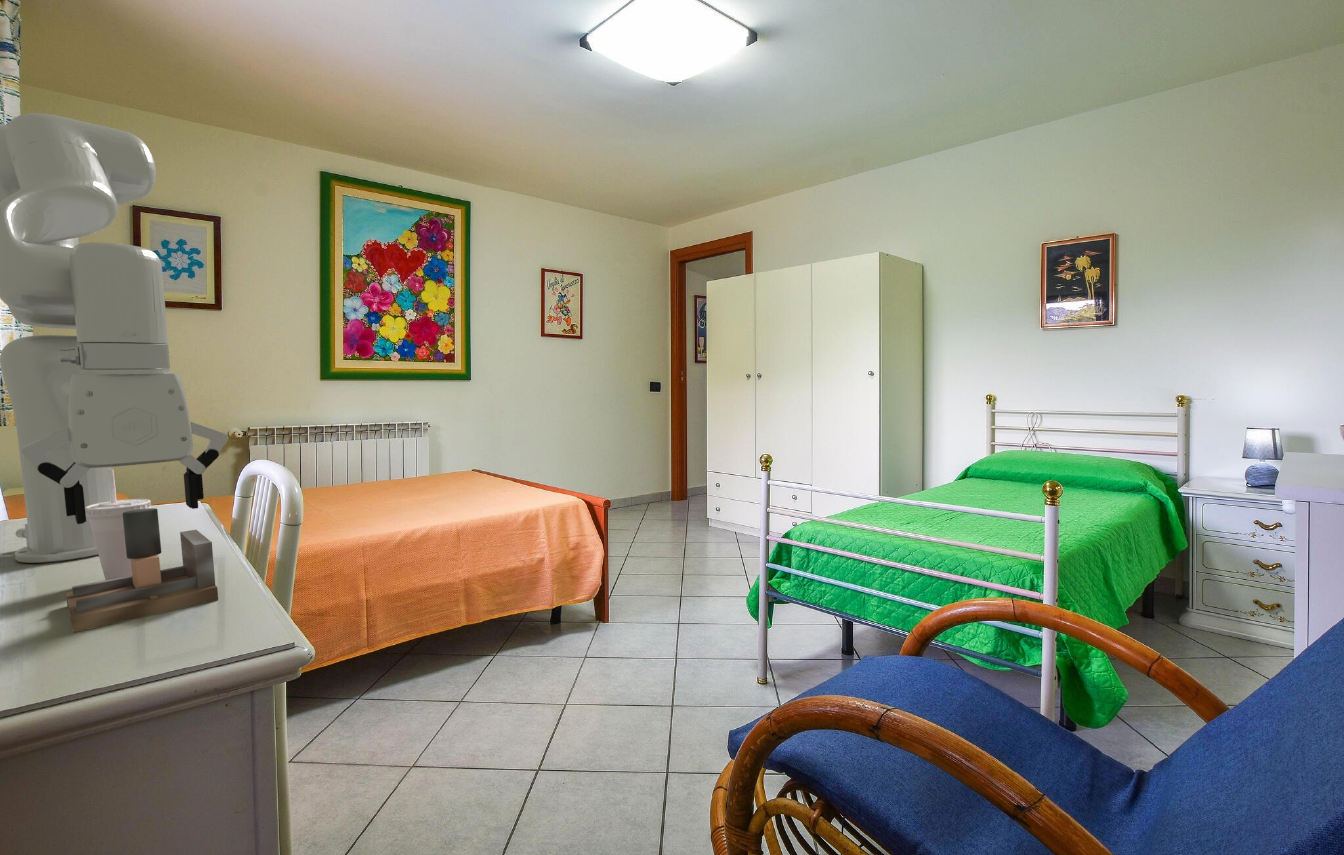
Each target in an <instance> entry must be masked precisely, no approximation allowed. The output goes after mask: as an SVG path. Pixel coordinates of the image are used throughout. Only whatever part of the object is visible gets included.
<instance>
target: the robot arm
mask: <svg viewBox="0 0 1344 855" xmlns="http://www.w3.org/2000/svg"><path fill="white" fill-rule="evenodd" d="M156 177H157V170H156V164H155V160H154V157H153V155H152V152H151V151H150V149H149V147H148V146H147V145H146V143H145V142H144V141H143V140H142V139H141V138H140V137H138V136H137V135H135V134H133V133H132V132H128V131H126V130H122V129H118V128H113V127H109V126H107V125H106V126H105V125H102V124H101V125H100V124H96V123H93V122H88V121H82V120H78V119H74V118H71V117H65V116H62V115H56V114H51V113H50V114H49V113H43V112H42V113H41V112H29V113H23V114H19V115H17V116H16V117H14V118H12V119H11V120H10V121H9V122H8V124H3V123H0V300H1V301H2V302H3V303H4V304H5V305H6V306H8V309H9V312H10V314H11V315H12V317H13V318H14V319H15V320H16V321H18V322H19V323H22V324H23V325H27V326H32V327H37V328H44V329H45V328H46V329H48V328H49V329H65V330H67V329H71V330H75V331H76V335H58V334H57V335H55V334H53V335H52V334H45V335H44V334H43V335H31V336H30V335H27V336H23V337H19V338H16V339H13V340H11V341H10V342H8V343H7V344H6V345H5V346H3V348H2V349H1V351H0V371H1V375H2V378H3V381H4V385H5V387H6V391H7V392H8V397H9V399H10V403H11V407H12V412H13V417H14V422H15V426H16V427H15V428H16V436H17V443H18V450H19V460H20V470H21V478H22V486H23V488H22V489H23V495H24V496H23V498H24V505H25V512H26V514H25V515H26V523H25V524H24V528H21V527H20V528H18V529H17V530H16V531H15V536H16V537H17V538H20V539H21V538H22V539H23V538H24V539H26V540H25V541H26V546H25V547H21V548H19V549H18V550H16V551H15V552H14V556H15V557H14V558H15V561H17V562H19V563H26V564H27V563H28V564H29V563H30V564H31V563H32V564H35V563H36V564H37V563H52V562H63V561H68V560H70V561H71V560H75V559H82V558H88V557H93V556H99V555H98V551H97V547H96V544H95V540H94V536H93V533H92V530H91V525H90V521H89V518H88V517H86V512H85V507H87V506H89V505H93V504H97V503H102V502H109V501H111V499H110V489H109V478H108V470H109V469H113V467H125V466H126V467H127V466H139V465H146V464H147V465H148V464H158V463H167V462H168V463H169V462H177V461H178V462H179V463H180V464H182V465H184V467H186V468H185V470H186V471H185V473H183V482H184V483H183V484H184V496H185V504H186V505H185V506H187V507H189V509H192V510H195V509H198V508H199V501H200V500H204V498H205V496H204V484H203V483H204V482H203V474H204V473H205V472H206V469H208V468H209V467H210V466H211V465H212V464H213V463H214V462H215V461H216V460H217V459H218V458H219V456H220V453H221V451H222V449H223V447H225V445H226V442H227V441H228V435H227V434H226V433H225V432H221V431H218V430H216V429H212V428H209V427H206V426H203V425H200V424H199V423H195V422H193V421H191V419H190V418H191V417H190V412H189V405H188V399H187V395H186V390H185V386H184V384H183V381H182V377H181V374H180V373H179V372H171V363H170V351H169V338H168V337H169V335H168V326H167V313H166V312H167V311H166V301H165V288H164V277H163V276H164V274H163V267H162V266H163V265H162V261H161V260H160V259H161V258H159V256H158V255H157V254H156V253H155V251H153V250H150V249H148V248H146V247H142V246H137V245H132V244H126V243H125V244H124V243H117V242H101V241H100V242H99V241H97V242H96V241H95V242H94V241H92V242H91V241H90V242H83V243H80V242H79V240H80V239H79V238H81V237H82V238H83V237H86V236H87V237H88V236H90V235H93V234H96V233H99V232H101V231H103V230H105V229H107V228H108V227H110V226H111V225H112V224H113V222H114V221H115V220H116V217H117V215H118V209H119V208H118V206H123V205H129V204H130V203H131V204H132V203H133V202H137V201H140V200H142V199H144V198H145V197H147V196H149V194H150V193H151V192H152V190H153V189H154V186H155V184H156ZM193 435H196V436H199V437H201V438H204V439H207V440H208V441H209V442H208V445H207V447H206V449H205V450H204V451H203V452H201V454H200V455H199V456H198V457H196V458H195V457H194V455H192V453H193V452H194V451H193V450H194V442H193V441H194V440H193Z"/></svg>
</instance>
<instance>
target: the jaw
mask: <svg viewBox="0 0 1344 855" xmlns="http://www.w3.org/2000/svg"><path fill="white" fill-rule="evenodd" d="M158 512H159V510H158V508H157V507H156V508H155V507H152V508H147V509H137V510H131V511H127V512H124V513H122V514H123V524H124V534H125V544H126V555H127V558H128V559H131V569H132V579H133V585H134V586H135V588H141V587H146V586H151V585H156V584H161V572H160V570H161V563H160V561H161V560H160V557H159V556H160V554H162V546H161V534H160V533H161V532H160V523H159V522H160V521H159V513H158ZM158 555H159V556H158Z"/></svg>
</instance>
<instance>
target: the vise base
mask: <svg viewBox="0 0 1344 855" xmlns="http://www.w3.org/2000/svg"><path fill="white" fill-rule="evenodd" d="M179 534H180V547H181V556H182V558H181V559H182V565H180V566H176V567H170V568H164V569H160V572H161V584H156V585H151V586H146V587H141V588H135V586H134V585H133V579H132V576H126V577H121V578H116V579H110V580H105V579H104V580H100V581H94V582H88V583H85V584H79V585H74V586H71V588H72V591H67V592H65V597H66V599H65V600H66V605H67V611H68V616H69V619H70V625H71V628H72V633H77V632H81V631H87V630H90V629H91V630H92V629H95V628H100V627H103V626H104V627H105V626H108V625H112V624H116V623H117V624H118V623H121V622H126V621H130V620H134V619H139V618H143V617H149V616H153V615H158V614H161V613H162V614H163V613H166V612H172V611H176V610H180V609H184V608H188V607H193V606H198V605H202V604H207V603H211V602H214V601H219V593H218V592H219V591H218V586H217V585H216V578H215V565H214V564H215V563H214V553H213V551H214V550H213V542H212V541H211V540H210V539H208V538H207V537H206V536H205V535H204V534H202V533H201V532H200V531H199V530H197V529H192V530H191V529H190V530H185V531H179Z"/></svg>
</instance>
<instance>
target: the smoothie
mask: <svg viewBox="0 0 1344 855" xmlns="http://www.w3.org/2000/svg"><path fill="white" fill-rule="evenodd" d="M108 478H109V489H110V499H111V501H109V502H102V503H97V504H93V505H89V506H87V507H85V512H86V517H88V518H89V521H90V525H91V530H92V533H93V536H94V540H95V544H96V547H97V551H98V555H97V556H98V557H99V562H100V565H101V568H102V573H103V576H104V581H105V580H110V579H116V578H121V577H126V576H132V569H131V559H128V558H127V555H126V544H125V534H124V524H123V514H122V513H124V512H127V511H131V510H137V509H147V508H153V506H152V503H151V502H152V501H151V500H150V499H148V498H131V499H130V498H129V499H128V498H127V499H117V491H116V490H117V489H116V482H115V471H114V469H113V468H112V469H109V470H108Z"/></svg>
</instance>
